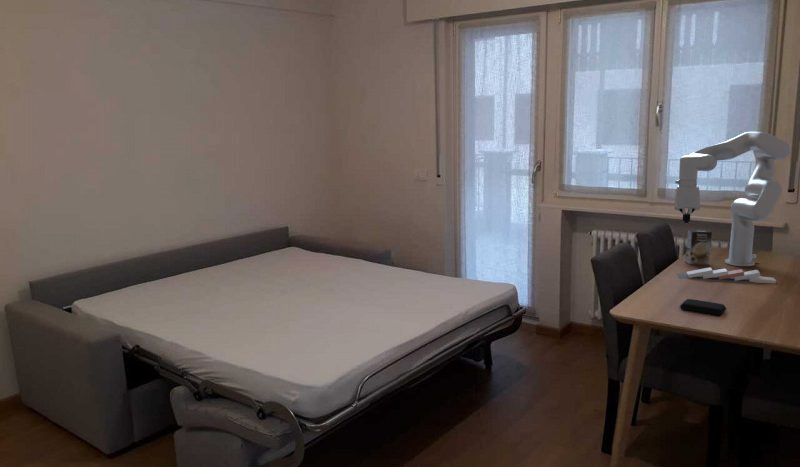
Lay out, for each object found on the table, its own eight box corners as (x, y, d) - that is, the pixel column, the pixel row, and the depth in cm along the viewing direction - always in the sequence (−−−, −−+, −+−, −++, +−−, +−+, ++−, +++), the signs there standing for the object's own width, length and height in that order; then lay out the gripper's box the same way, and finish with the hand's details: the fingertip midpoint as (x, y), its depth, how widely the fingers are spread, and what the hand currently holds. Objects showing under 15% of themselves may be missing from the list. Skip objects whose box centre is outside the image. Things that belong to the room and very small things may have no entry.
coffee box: (689, 264, 297) (692, 231, 294) (684, 261, 304) (687, 229, 301) (709, 264, 297) (712, 232, 293) (704, 261, 303) (706, 229, 300)
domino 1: (687, 274, 273) (712, 270, 269) (686, 271, 277) (710, 267, 274) (688, 278, 273) (713, 273, 269) (687, 275, 278) (711, 270, 274)
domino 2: (702, 275, 271) (727, 271, 268) (700, 272, 276) (725, 268, 272) (703, 278, 271) (728, 274, 268) (701, 276, 276) (726, 271, 272)
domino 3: (734, 277, 267) (759, 272, 264) (731, 274, 272) (756, 269, 268) (734, 280, 267) (760, 275, 264) (732, 277, 272) (757, 273, 268)
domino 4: (750, 278, 265) (776, 280, 262) (747, 275, 270) (773, 277, 267) (749, 281, 266) (775, 284, 263) (746, 278, 270) (772, 281, 267)
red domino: (718, 276, 269) (743, 271, 266) (716, 273, 274) (741, 268, 270) (719, 279, 269) (744, 275, 266) (717, 276, 274) (742, 272, 270)
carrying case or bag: (727, 310, 231) (685, 303, 240) (728, 302, 231) (686, 296, 240) (721, 318, 223) (678, 311, 232) (722, 310, 222) (678, 303, 231)
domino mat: (678, 279, 273) (678, 278, 273) (676, 274, 280) (676, 273, 280) (755, 283, 264) (755, 283, 264) (751, 279, 271) (751, 278, 271)
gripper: (671, 184, 280) (669, 224, 284) (707, 183, 276) (705, 224, 280) (669, 182, 287) (667, 220, 291) (704, 181, 283) (702, 221, 286)
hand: (686, 222), depth 285 cm, fingers closed
